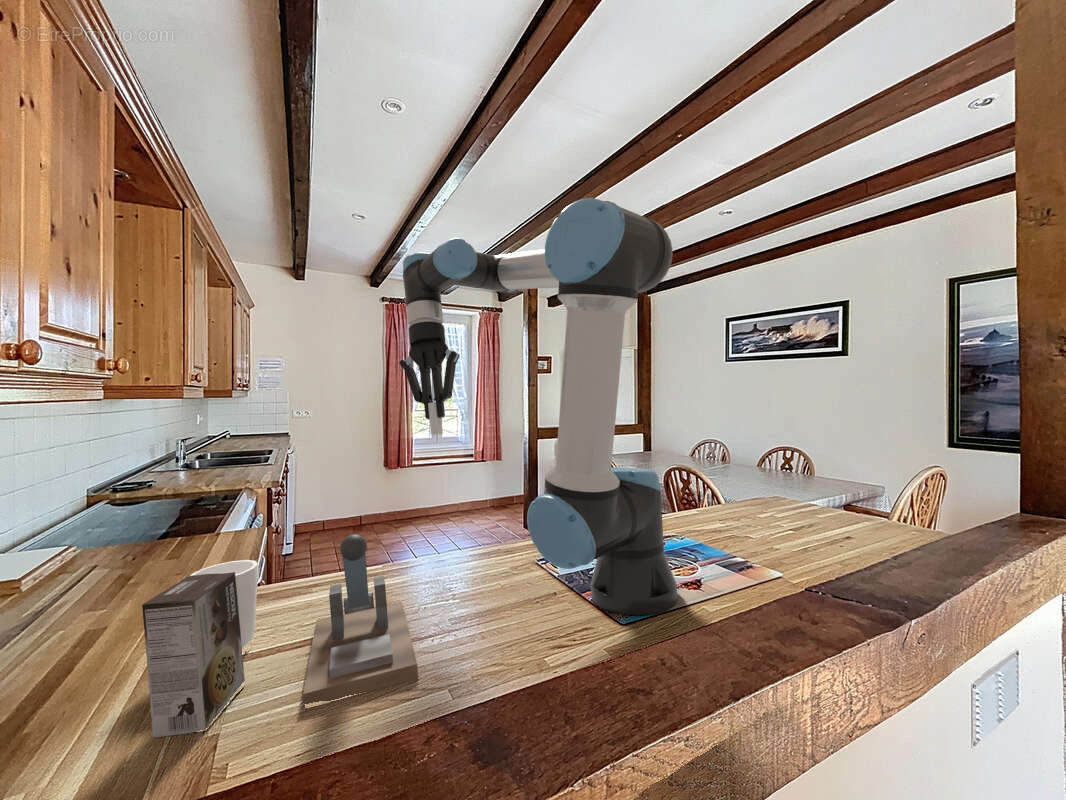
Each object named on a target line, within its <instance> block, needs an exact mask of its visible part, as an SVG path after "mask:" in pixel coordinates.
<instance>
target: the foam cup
mask: <svg viewBox="0 0 1066 800" xmlns="http://www.w3.org/2000/svg"><path fill="white" fill-rule="evenodd" d="M232 572H235V578H236V588H237V599H238V611H239V621H240V632H241V645H242V647H244V646H245V645H246V644H247V643H248V642H250V641H251V640H252V638H253V636H254V637H255V624H256V613H257V611H256V609H257V596H258V584H259V583H258V581H259V580H260V571H259V563H258V562H257V561H256V560H252V559H251V560H250V559H243V560H242V559H241V560H232V561H227V562H222V563H221V562H220V563H218V564H214V565H211V566H207V567H204V568H201V569H199V570H197V571H195V572H193V573H191V574H190V575H189V576H193V575H202V574H216V573H219V574H223V573H232Z"/></svg>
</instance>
